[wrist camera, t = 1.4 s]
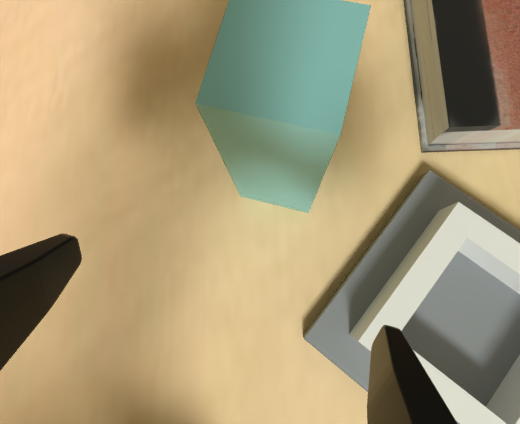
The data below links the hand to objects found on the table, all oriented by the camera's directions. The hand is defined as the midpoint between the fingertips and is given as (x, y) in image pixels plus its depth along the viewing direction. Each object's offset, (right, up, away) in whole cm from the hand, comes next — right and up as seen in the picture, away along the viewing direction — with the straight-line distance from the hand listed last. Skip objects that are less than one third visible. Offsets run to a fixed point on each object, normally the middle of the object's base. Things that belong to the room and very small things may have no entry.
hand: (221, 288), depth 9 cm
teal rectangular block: (+3, +5, +15) cm, 16 cm away
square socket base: (+14, -5, +12) cm, 19 cm away
